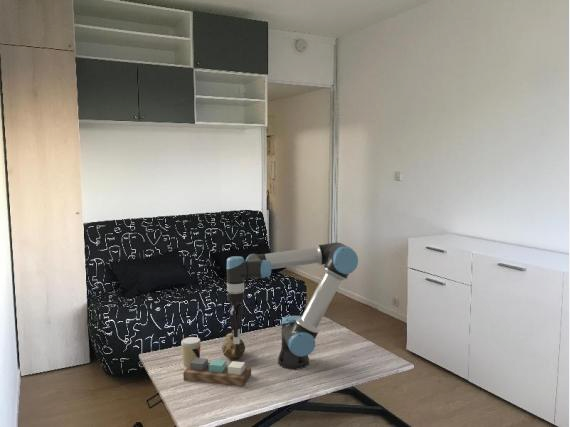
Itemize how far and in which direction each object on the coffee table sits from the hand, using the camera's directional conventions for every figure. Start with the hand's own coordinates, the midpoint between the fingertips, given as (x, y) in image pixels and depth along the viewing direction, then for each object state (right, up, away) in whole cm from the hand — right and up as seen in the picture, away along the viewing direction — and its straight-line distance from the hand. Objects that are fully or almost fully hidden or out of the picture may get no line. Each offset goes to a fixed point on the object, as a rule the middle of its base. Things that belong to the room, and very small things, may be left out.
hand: (236, 343), depth 210 cm
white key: (0, -15, +1) cm, 15 cm away
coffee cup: (-24, -15, +19) cm, 34 cm away
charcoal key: (-18, -14, +6) cm, 24 cm away
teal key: (-9, -15, +4) cm, 18 cm away
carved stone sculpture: (-4, -15, +25) cm, 29 cm away
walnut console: (-9, -17, +4) cm, 19 cm away
